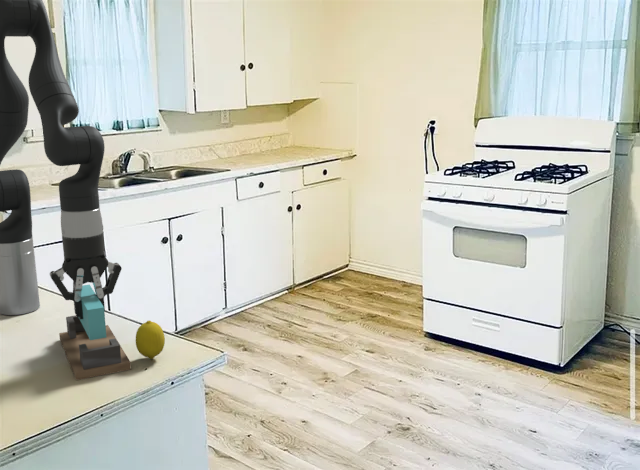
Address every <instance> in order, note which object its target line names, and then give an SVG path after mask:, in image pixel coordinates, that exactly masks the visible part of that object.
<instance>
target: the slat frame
mask: <svg viewBox="0 0 640 470" xmlns="http://www.w3.org/2000/svg"><path fill="white" fill-rule="evenodd" d="M65 320H66V322H65V323H66V329H67V330H66V331H65V332H64V331H63V332H59V334H58V335H59V341H60V344H61V345H62V348H63V350H64V354H65V356H66V358H67V362H68V365H69V366H70V369H71V371H72V374H73V376H74V379H75V381H78V380H80V381H81V380H83V379H90V378H95V377H98V376H99V377H100V376H104V375H110V374H113V373H114V374H115V373H120V372H124V371H130V370H132V366H131V364H132V363H131V361H130V359H129V358H128V356H127V354H126V352H125V351H124V349H123V348H122V345H121V344H120V342H119V341H118V339H117V337H116V335H115V334H114V332H113V331H112V330H111V328H110V326H109V325H108V324H105V325H106V338H100V339H95V340H90V339H89V337H88V335H87V333H86V331H85V329H84V327H83V325H82V323H81V321H80V319H79V317H77V316H76V314H75V315H71V316H66V317H65Z"/></svg>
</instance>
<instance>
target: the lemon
mask: <svg viewBox="0 0 640 470" xmlns="http://www.w3.org/2000/svg"><path fill="white" fill-rule="evenodd" d="M165 342H166V339H165V333H164V331H163V327H161V325H160V324H158V323H157V322H155V321H151V320H147V321H146V322H143V323H142V324H140V325H139V327H138V328H137V330H136V333H135V346H136V349H137V351H138V353H139V354H140V355H141V356H143V357H145V358H148V359H149V360H153V359H154V358H155V357H156V356H159V355H160V354H161V353H162V352H163V350H164V347H165Z"/></svg>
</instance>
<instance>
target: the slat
mask: <svg viewBox="0 0 640 470" xmlns="http://www.w3.org/2000/svg"><path fill="white" fill-rule="evenodd" d="M81 301H82V310H83V319H80V318H79V319H80V321H81V323H82V325H83V327H84V329H85V331H86V333H87V335H88V337H89V339H90V340H95V339H100V338H106V325H107V324H106V314H105V313H106V312H105V311H104V307H103V305H102V303H101V302H100V300H99V299H98V297H97V295H96V293H95V290H94V289H93V288H92V285H90V284H83V285H82V292H81Z"/></svg>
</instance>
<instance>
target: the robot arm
mask: <svg viewBox="0 0 640 470" xmlns="http://www.w3.org/2000/svg"><path fill="white" fill-rule="evenodd" d="M7 37H22V38H23V37H27V38H28V37H30V38H31V39H32V41H33V43H34V45H35V53H34V57H33V61H32V63H31V67H30V70H29V74H28V88H29V91H30V95H31V97H32V100H33V102H34V104H35V107H36V109H37V111H38V113H39V115H40V120H41V127H42V134H43V136H42V137H43V148H44V153H45V156H46V158H47V159H48V160H49V161H50V162H51V163H52V164H53V165H55V166H58V167H68V166H77V165H79V168H78V170H77V172H76V173H75V174H73V175H71V176H69V177H66V178H63V179H62V180H61V181H59V184H58V193H59V204H60V205H59V206H60V229H61V240H62V249H63V258H64V259H63V262H62V265H61V267H60V268H59V269H57V270H52V271H50V272H49V276H50V279H51V280H52V281H53V283H54V285H55V286H56V287H57V289H58V291H59V292H60V293H61V296H62V297H63V298H64V300H65V301H72V302H73V307H74V308H73V310H74V314H75V315H76V316H77V317H79V318H80V319H83V310H82V301H81V292H82V286H83V285H86V284H87V283H92V285H93V288H94V289H93V290H94V292H95V294H96V295H97V297H98V299H99V300H100V302H101V303H102V305H103V307H104V312H105V311H106V310H105V309H106V308H105V297H106V296H107V295H111V294H113V292H114V290H115V287H116V285H117V281H118V279H119V277H120V274H121V271H122V266H121V265H120V264H119V263H118V262H114V263H113V262H111V261H109V260H108V259H107V257H106V252H105V240H104V239H105V238H104V237H105V236H104V224H103V218H102V214H101V208H100V207H101V205H100V196H99V182H100V177H101V170H102V165H103V161H104V156H105V140H104V138H103V135H102V133H101V132H100V130H98V129H97V128H96V127H94V126H93V125H92V126H91V125H81V126H66V127H64V126H65V125H67V124H70V123H71V122H74V121H75V120H76V119H77V117H78V115H79V112H80V111H79V106H78V103H77V101H76V98H75V96H74V94H73V92H72V89H71V87H70V85H69V83H68V79H66V75H65V73H64V71H63V67H62V64H61V61H60V57H59V54H58V49H57V45H56V41H55V36H54V33H53V30H52V26H51V22H50V19H49V15H48V11H47V9H46V6H45V3H44V1H43V0H0V166H1V164H2V162H3V160H4V158H5V157H6V155H7V154H8V153H9V151H10V150H11V149H12V147H13V146H15V144H16V143H17V141H18V140H19V139H20V138H21V136H22V135H23V134H24V132H25V130H26V128H27V125H28V120H29V119H28V118H29V117H28V116H29V105H30V103H29V102H30V98H29V94H28V90H27V88H26V86H25V85H24V84H23V81H22V80H21V79H20V78H19V76H18V75H17V73H16V72H15V71H14V69H13V67H12V66H11V63H10V61H9V59H8V57H7V54H6V48H5V41H6V40H5V39H6V38H7ZM31 200H32V199H31V185H30V181H29V178H28V176H27V174H26V173H25V172H24V171H23V170H22V169H18V168H17V169H16V168H15V169H5V170H4V169H3V170H0V213H1V212H8V211H10V214H9V215H8V216H7V217H6V218H5V219H4V220H3V221H1V222H0V315H5V316H16V315H17V316H18V315H23V314H28V313H33V312H35V311H37V310H38V309H40V306H41V304H40V303H41V302H40V294H39V293H40V292H39V284H38V283H39V282H38V274H37V266H36V264H37V263H36V256H35V255H36V254H35V248H34V239H33V238H34V237H33V218H32V216H33V215H32V201H31ZM106 269H107V271H108V273H109V274H108V277H107V281H106V282H105V286H104V287H103V285H102V281H101V277H102V276H103V274H104V272H105V271H106ZM65 274H66V275H67V276H68V277H69V278H70V279H71V280H72V291H69V290H68V288H66V287H67V286H66V285H65V284H64V283H63V281H64V279H65V276H64V275H65Z"/></svg>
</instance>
